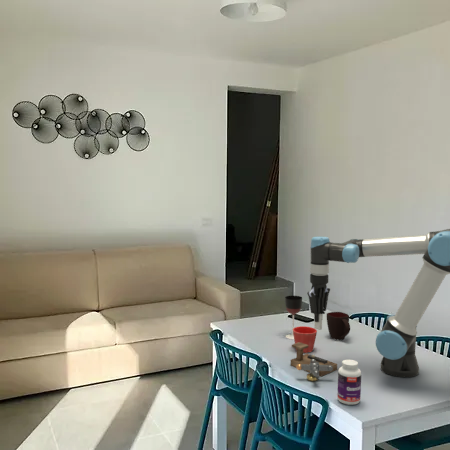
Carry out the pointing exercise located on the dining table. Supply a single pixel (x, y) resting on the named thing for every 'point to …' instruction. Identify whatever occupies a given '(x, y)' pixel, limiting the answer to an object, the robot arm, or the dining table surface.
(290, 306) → the wineglass
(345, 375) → the pill bottle
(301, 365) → the capstan
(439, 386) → the dining table surface
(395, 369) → the robot arm
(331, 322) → the cup
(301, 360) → the level stand
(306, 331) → the flower pot
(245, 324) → the dining table surface
